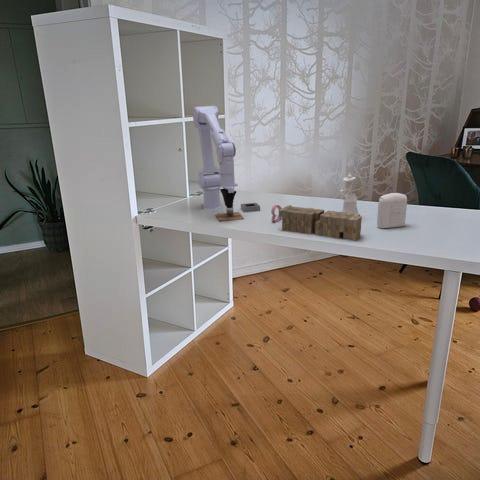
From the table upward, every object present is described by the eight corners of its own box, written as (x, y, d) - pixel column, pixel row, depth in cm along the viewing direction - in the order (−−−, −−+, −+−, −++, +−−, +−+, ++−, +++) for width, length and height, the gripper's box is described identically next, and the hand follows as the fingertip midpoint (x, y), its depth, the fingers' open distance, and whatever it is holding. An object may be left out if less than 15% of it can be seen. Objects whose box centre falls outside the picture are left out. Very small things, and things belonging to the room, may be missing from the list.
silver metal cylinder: (225, 214, 178) (224, 200, 176) (231, 213, 179) (231, 199, 177) (228, 216, 176) (227, 201, 174) (234, 215, 177) (233, 200, 175)
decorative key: (301, 219, 183) (272, 222, 168) (298, 218, 184) (270, 222, 169) (302, 203, 182) (274, 205, 167) (300, 202, 183) (271, 205, 168)
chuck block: (240, 209, 191) (240, 204, 190) (256, 208, 192) (256, 202, 192) (244, 213, 184) (244, 207, 184) (260, 211, 186) (260, 206, 185)
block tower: (362, 237, 151) (288, 224, 167) (364, 214, 148) (288, 203, 164) (354, 244, 145) (278, 230, 160) (356, 220, 142) (278, 208, 158)
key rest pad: (215, 216, 182) (215, 214, 181) (238, 214, 184) (238, 212, 183) (219, 222, 172) (219, 220, 172) (243, 220, 174) (243, 218, 174)
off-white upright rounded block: (400, 223, 161) (402, 190, 157) (406, 226, 157) (409, 193, 153) (375, 226, 159) (376, 193, 155) (381, 229, 155) (383, 195, 151)
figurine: (336, 216, 174) (338, 172, 168) (356, 215, 174) (358, 170, 168) (342, 221, 167) (344, 175, 161) (362, 220, 167) (365, 173, 162)
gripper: (240, 175, 166) (242, 210, 170) (233, 170, 180) (234, 202, 184) (222, 177, 165) (224, 211, 169) (216, 171, 178) (218, 203, 183)
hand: (228, 206), depth 176 cm, fingers closed on silver metal cylinder, 3 cm apart
